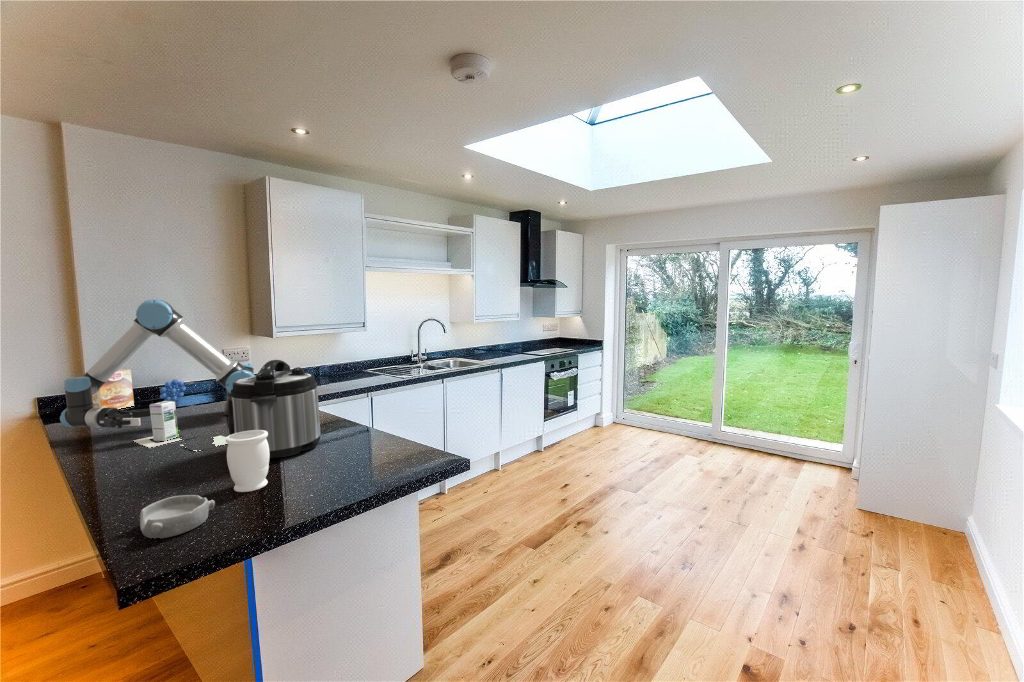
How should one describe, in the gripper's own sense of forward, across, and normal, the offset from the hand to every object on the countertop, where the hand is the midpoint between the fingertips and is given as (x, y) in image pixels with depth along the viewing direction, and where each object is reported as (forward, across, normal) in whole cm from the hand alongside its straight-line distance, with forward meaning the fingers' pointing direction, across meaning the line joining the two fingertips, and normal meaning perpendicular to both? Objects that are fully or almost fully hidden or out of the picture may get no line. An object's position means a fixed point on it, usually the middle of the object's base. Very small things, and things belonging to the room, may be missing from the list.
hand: (155, 417), depth 179 cm
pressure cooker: (+55, +11, -9) cm, 57 cm away
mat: (+25, +5, -9) cm, 27 cm away
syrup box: (+3, 0, -9) cm, 10 cm away
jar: (+67, +43, -9) cm, 80 cm away
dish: (+64, +65, -9) cm, 91 cm away
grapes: (-51, -67, -9) cm, 85 cm away
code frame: (+3, 0, -9) cm, 9 cm away
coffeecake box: (-67, -49, -9) cm, 84 cm away
